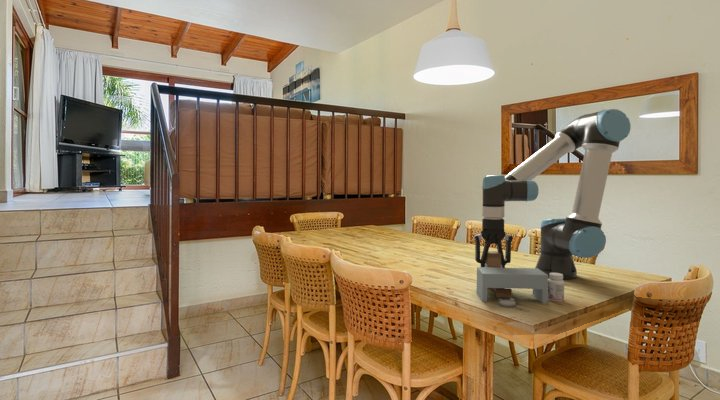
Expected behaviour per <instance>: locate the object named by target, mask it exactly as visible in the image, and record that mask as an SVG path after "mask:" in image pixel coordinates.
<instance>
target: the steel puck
mask: <svg viewBox="0 0 720 400" xmlns="http://www.w3.org/2000/svg"><path fill="white" fill-rule="evenodd" d="M498 306H499V307H502V308H506V309H514V308H517V299H515V298H513V297H512V298H510V297H498Z"/></svg>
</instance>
